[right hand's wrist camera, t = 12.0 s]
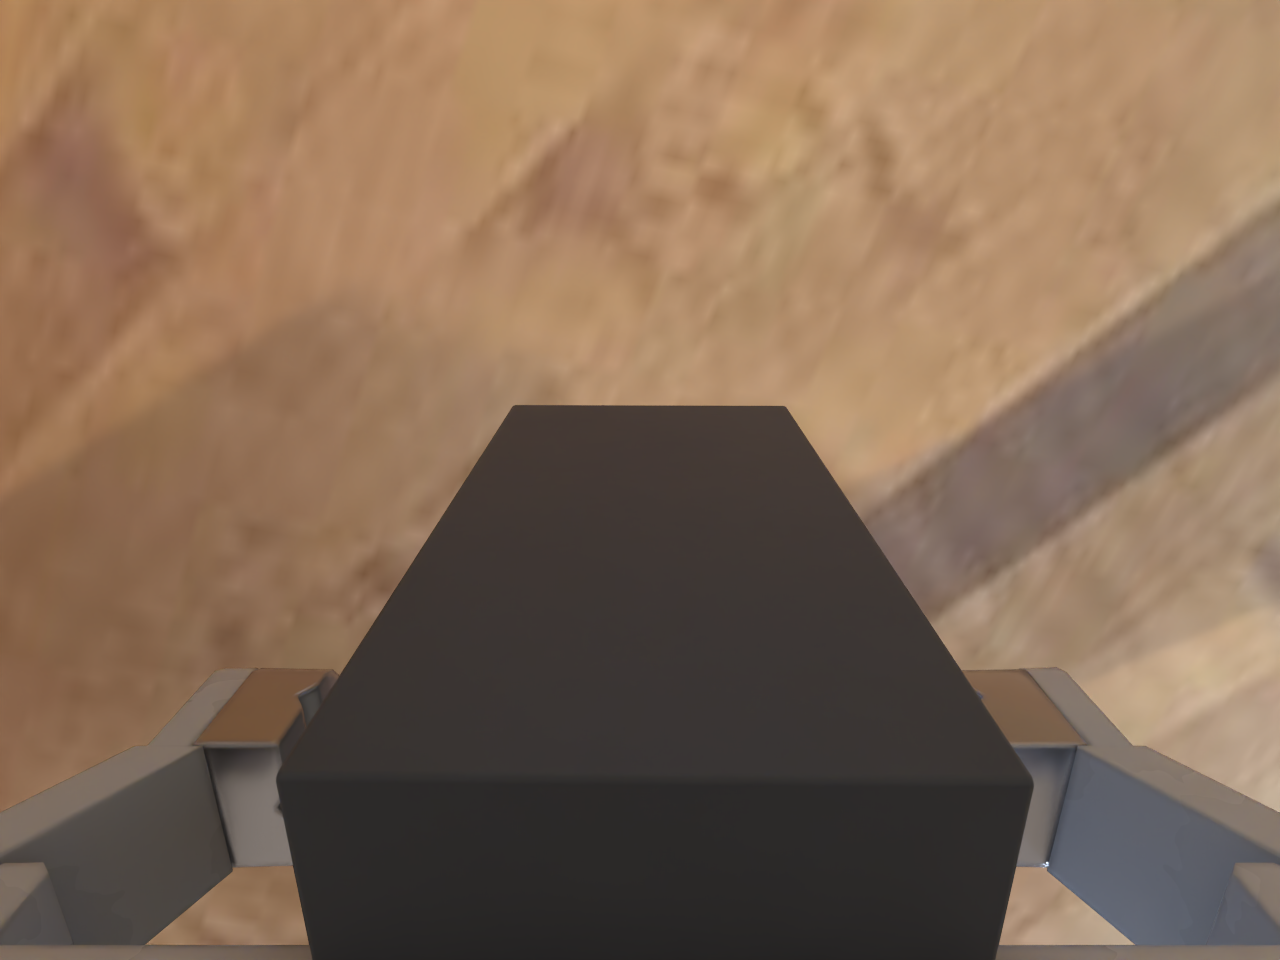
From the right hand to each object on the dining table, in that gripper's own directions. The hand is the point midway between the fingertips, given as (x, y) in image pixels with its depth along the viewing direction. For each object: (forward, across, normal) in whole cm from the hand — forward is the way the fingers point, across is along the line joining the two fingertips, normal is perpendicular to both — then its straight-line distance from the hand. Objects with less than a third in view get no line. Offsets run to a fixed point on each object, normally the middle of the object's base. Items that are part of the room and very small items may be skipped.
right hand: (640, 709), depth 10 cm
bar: (+4, 0, -10) cm, 11 cm away
